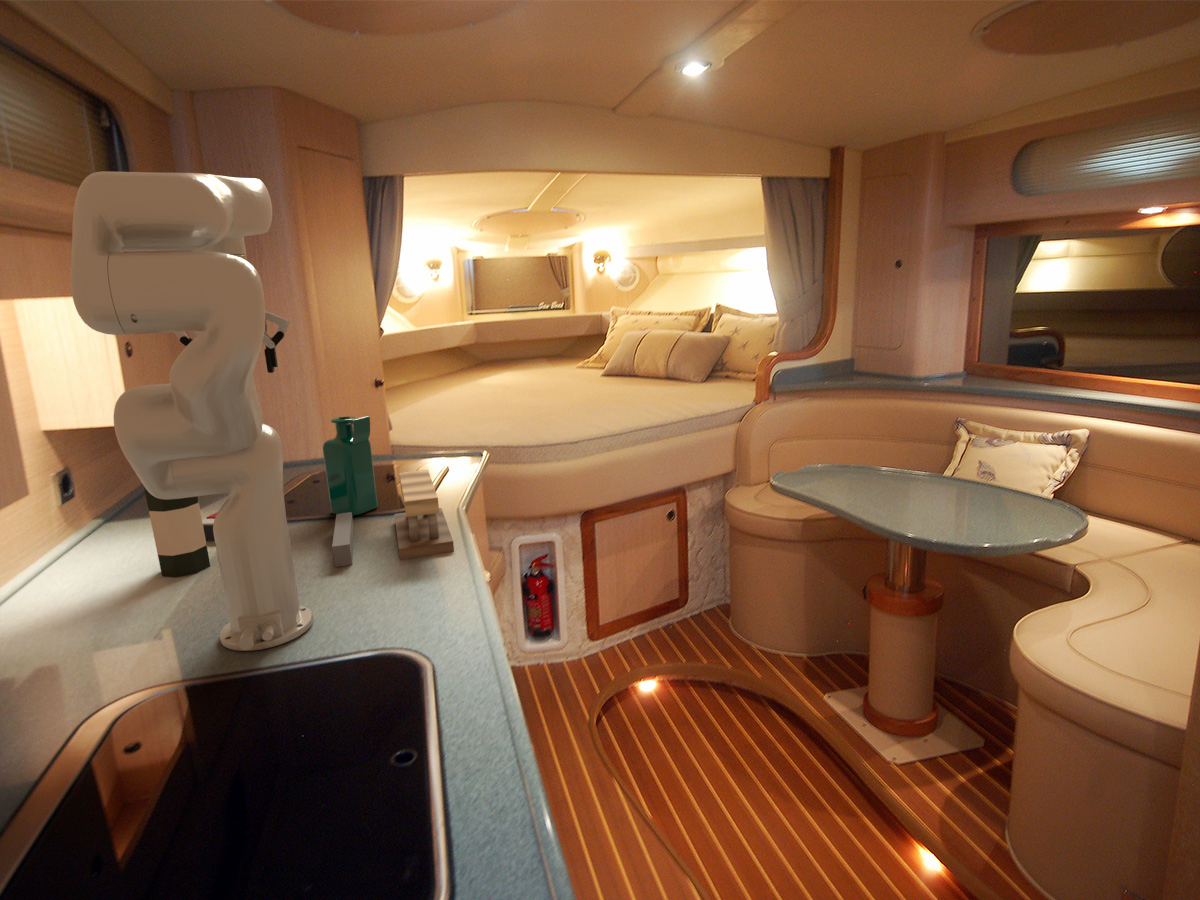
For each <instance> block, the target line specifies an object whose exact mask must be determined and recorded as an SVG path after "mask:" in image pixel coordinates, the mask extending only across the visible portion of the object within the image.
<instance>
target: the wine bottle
mask: <svg viewBox="0 0 1200 900" xmlns="http://www.w3.org/2000/svg"><path fill="white" fill-rule="evenodd" d="M143 487H144V486H143ZM144 494H145V498H146V505H147V508H148V513H149V519H150V524H151V527H152V532H153V538H154V543H155V548H156V553H157V558H158V564H159V569H160V572H161V577H167V578H180V577H184V576H185V577H186V576H189V575H194V574H198V573H199V572H202V571H204V570H206V569H207V568H209V567H211V564H210V563H211V561H210V557H209V551H208V546H207V545H208V544H207V541H206V539H205V534H204V529H203V523H202V520H203V519H202V513H201V507H200V504H199V503H200V501H199V496H195V497H188V498H181V499H170V500H164V499H159V498H156V497H154V496H153V495H151V494H150V493H149V492H148V491H147V490H146V488H145V487H144Z"/></svg>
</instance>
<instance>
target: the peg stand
mask: <svg viewBox="0 0 1200 900" xmlns="http://www.w3.org/2000/svg"><path fill="white" fill-rule="evenodd" d="M393 515H394V521H395V524H394V525H395V530H396V538H397V539H396V540H397V547H398V553H399V554H398V555H399V560H403V559H404V560H405V559H410V558H416V557H423V556H429V555H435V554H436V555H438V554H443V553H450V552H454V551H455V547H454V540H453V537H452V534H451V531H450V529H449V525H448V522H447V520H446V517H445V514H444V512H443V509H442V507H439V513H434V514H427V515H420V516H412V517H406V513H405V512H399V513H394V514H393Z"/></svg>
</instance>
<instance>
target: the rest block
mask: <svg viewBox="0 0 1200 900" xmlns="http://www.w3.org/2000/svg"><path fill="white" fill-rule="evenodd" d="M335 515H336V516H335V523H334V531H333V536H332V537H333V538H332V543H331V547H332V548H331V549H332V556H333V557H332V558H333V563H334V567H335V568H339V567H343V566H344V567H345V566H346V567H347V566H352V565H353V556H354V555H353V554H354V534H355V528H354V519H353V516H352V512H348V513H341V514H335Z"/></svg>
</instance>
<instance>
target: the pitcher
mask: <svg viewBox="0 0 1200 900" xmlns="http://www.w3.org/2000/svg"><path fill="white" fill-rule="evenodd" d="M330 423H331V424H335V430H336V436H335V437H332V438H329V439H327V440H326V441H324V442H323V445H322V452H323V453H322V454H323V461H324V467H325V469H324V470H325V475H326V477H325V478H326V481H327V482H326V483H327V490H328V497H329V502H330V505H329V506H330V510H331V513H332V514H333V515H336V514H341V513H348V512H352V517H355V516H354V515H358V516H360V515H359V514H361V515H363V514H365V513H368V512H370V511H372V510H374V509H377V508H378V506H379V504H378V503H379V502H378V495H377V488H376V487H377V486H376V478H375V471H374V470H375V469H374V463H373V462H374V461H373V455H372V454H373V453H372V445H371V441H370V436H371V418H370V416H369V415H364V416H360V417H355V416H350V415H349V416H339V417H333V418H332V419H330ZM367 511H368V512H367ZM364 512H365V513H364ZM362 513H363V514H362Z"/></svg>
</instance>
